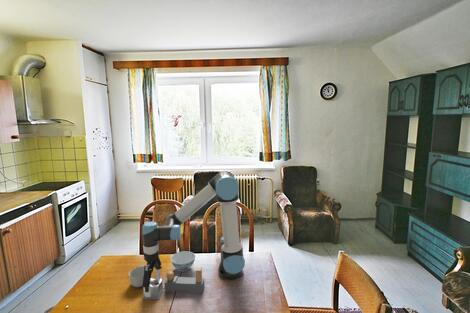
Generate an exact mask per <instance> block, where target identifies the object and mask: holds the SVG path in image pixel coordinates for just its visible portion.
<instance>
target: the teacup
mask: <svg viewBox="0 0 470 313" xmlns="http://www.w3.org/2000/svg"><path fill="white" fill-rule="evenodd" d="M144 266H146V264H142V265H140V266H136V267H134V268H132V269H131V270H130V271H129V272H128V278H129V284H130V285H131V286H132V287H134V288H143V287H142V285H143V277H144Z"/></svg>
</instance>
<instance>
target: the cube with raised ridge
mask: <svg viewBox="0 0 470 313" xmlns="http://www.w3.org/2000/svg"><path fill="white" fill-rule="evenodd" d="M149 285H150V288H151V297H159V295H160V294H161V292H162V290H163V288H164V286H163V285H164V284H163V279H162V278H160V279H155V278H151V279H150V284H149ZM142 289H143V296H144V297H145V287H142ZM163 291H164V290H163ZM162 293H163V292H162ZM161 295H162V294H161Z"/></svg>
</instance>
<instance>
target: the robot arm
mask: <svg viewBox="0 0 470 313" xmlns="http://www.w3.org/2000/svg"><path fill="white" fill-rule="evenodd" d="M239 188H240V186H239V182H238V179H236V177H235V175H234V174H233V173H232V172H230V171H226V170H224V171H220V172H219V173H217V174H216V175H215V176H214V177H212V178H211V179H210V180H208V182H207V185H206V186H204V187H203V188H202V189H201V190H199V191H198V192H197V193H196V194H195V195H194V196H192V197H191V198H190V199H189V200H188V201H187V202H186V203H184V204H183V205H181V207H180V208H179V209H177V210H176V211H175V212H174V213H170V214H168V216H167V217H166V219H165V223H164V225H158V223H157V222H156V221H147V222H145V223H143V225H142V227H141V228H142V230H141V231H142V232H141V234H142V247H143V248H142V249H143V259H144V261H145V262H146V265H145V266H144V277H143V285H142V287H141V288H143V287H145V297H151V288H150V285H149V284H150V279H152V274H153V272H154V279H161V269H162V262H161V258H160V254H159V253H160V252H159V248H160V247H159V242H160V241H161V242H162V241H163V242H164V241H176V240H180V239H181V237H182V236H181V235H182V228H181V225H182V224H183V223H185V221H187V220H188V219H189V218H190V217H191V216H193V215H194V214H196V212H197V211H199V210H200V209H201V208H203V207H204V206H205V205H207V203H208V202H210V201H211V199H213V198H214V197H215V196H216V202H218V204H219V205H220V216H221V217H220V218H221V228H222V229H221V230H222V236H221V238H220V261H219V266H218V270H217V273H218V275H219V277H220V278H222V279H225V280H236V279H238V278H240V277H242V275H243V274H244V272H243V271H244V270H243V269H244V268H245V267H246V266H245V264H246V260H245V258H244V248H243V244H242V243H241V240H240V234H239V220H238V211H237V208H238V207H237V202H238V200H239V191H240V189H239Z"/></svg>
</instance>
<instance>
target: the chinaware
mask: <svg viewBox="0 0 470 313" xmlns="http://www.w3.org/2000/svg"><path fill="white" fill-rule="evenodd" d="M195 259H196V255H195V253H194V252H192V251H190V250H189V251H187V250H186V251H185V250H183V251H178V252H175V253H174V254H172V256H171V257H170V261H171V264H172V266H173V267H174V268H175V269H176V270H178V271H179V272H187V271H188V270H189V269H190V268H191V267H192V266H193V264H194V263H195V261H196V260H195Z"/></svg>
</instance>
